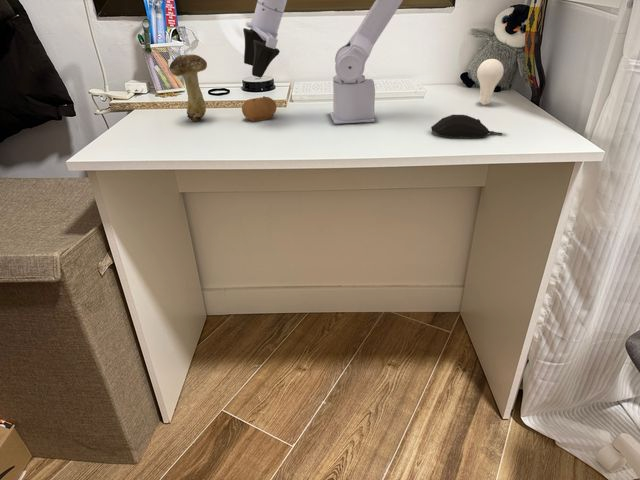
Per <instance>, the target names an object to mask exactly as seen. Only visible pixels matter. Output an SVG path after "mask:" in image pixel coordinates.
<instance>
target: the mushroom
mask: <svg viewBox="0 0 640 480" xmlns="http://www.w3.org/2000/svg"><path fill="white" fill-rule="evenodd" d="M207 68H208V63H207V61H206V59H204V58H203V57H201V56H200V55H197V54H193V53H192V54H187V53H185V54H180V55H178V56H175V58H174V59H172V61H171V63H170V64H169V68H168V69H169V71H170V73H171V74H172V75H173V76H175V77H182V79H183V81H184V85H185V89H186V93H187V107H186V114H187V116H186V117H187V118H188V121H191V122H199V121H201V119H202V118H203V117H204V115H205V114H206V112H207V105H206V101H205V99H204V95H203V93H202V91H201V87H200V84H199V83H200V82H199V77H198V73H200V72H203V71H205V70H206V69H207Z"/></svg>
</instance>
